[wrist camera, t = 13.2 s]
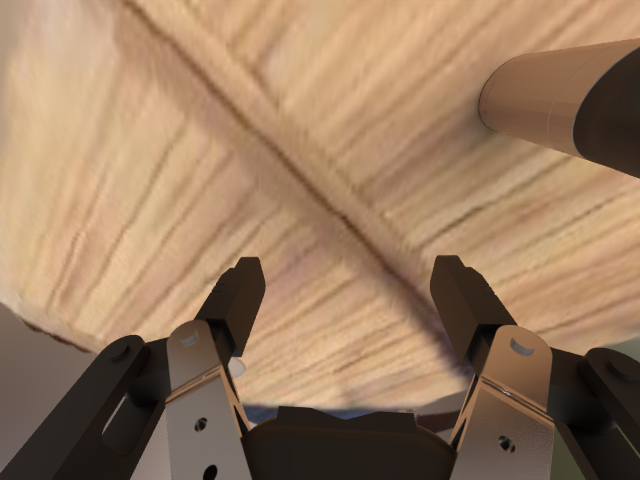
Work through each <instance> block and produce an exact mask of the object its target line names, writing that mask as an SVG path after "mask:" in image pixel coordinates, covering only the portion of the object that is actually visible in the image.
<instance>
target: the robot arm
mask: <svg viewBox="0 0 640 480" xmlns="http://www.w3.org/2000/svg"><path fill="white" fill-rule="evenodd" d="M479 113H480V116H481V119H482V121H483V122H484V124H485V125H486V126H488V127H489V128H491V129H493V130H495V131H499V132H502V133H505V134H507V135H510V136H513V137H517V138H520V139H523V140H526V141H529V142H532V143H535V144H538V145H541V146H545V147H548V148H551V149H554V150H557V151H560V152H563V153H567V154H570V155H573V156H576V157H579V158H582V159H586V160H589V161H591V162H595V163H598V164H601V165H604V166H607V167H610V168H613V169H615V170H618V171H620V172H623V173H626V174H628V175H631V176H634V177H637V178H640V38H636V39H629V40H622V41H615V42H608V43H602V44H595V45H588V46H581V47H574V48H567V49H561V50H554V51H546V52H539V53H532V54H526V55H522V56H518V57H515V58H514V59H512V60H510V61H508V62H506V63H505V64H504V65H502V66H501V67H500V68H499V69H498V70H497V71H496V72H495V73H494V74H493V75H492V76H491V78H490V79H489V80H488V82H487V83H486V85H485V87H484V89H483V91H482V94H481V97H480V102H479ZM430 292H431V296H432V298H433V301H434V303H435V306H436V308H437V310H438V313H439V315H440V318H441V320H442V323H443V325H444V327H445V330H446V332H447V335H448V337H449V339H450V342H451V344H452V347H453V349H454V351H455V354H456V356H457V359H458V361H459V364H460V365H461V366H472V367H473V369H474V371H475V375H474V377H473V379H472V382H471V385H470V388H469V391H468V393H467V396H466V399H465V402H464V405H463V407H462V410H461V413H460V415H459V418H458V421H457V423H456V426H455V428H454V430H453V433H452V435H451V437H450V440H449V442H448V443H447V442H445V441H444V440H443V439H442V438H440V437H439V436H438V435H436V434H434V433H433V432H431V431H430V430H428V429H426V428H424V427H422V426H419V425H416V422H415V418H414V413H398V412H380V411H379V412H375V413H371V414H367V415H363V416H359V417H355V418H351V419H346V420H344V419H340V418H337V417H334V416H332V415H329V414H326V413H324V412H321V411H318V410H315V409H313V408H306V407H288V406H279V409H278V414H277V416H276V417H273V418H270V419H268V420H265V421H263V422H262V423H260V424H258V425H257V426H255V427H254V428H253V429H251V427H250V425H249V422H248V420H247V417H246V415H245V413H244V410H243V407H242V404H241V401H240V398H239V395H238V392H237V389H236V386H235V383H234V380H233V377H232V374H231V371H230V368H229V366H228V364H229V362H230V359H231V357H242V354H243V351H244V348H245V346H246V343H247V340H248V338H249V335H250V332H251V329H252V327H253V324H254V321H255V318H256V316H257V313H258V310H259V308H260V305H261V302H262V299H263V297H264V294H265V279H264V275H263V271H262V268H261V264H260V260H259V258H258V257H241V258H240V259H239V261H238V263H237V264H236V266H235V268H229V269H228V270H227V271H226V272H225V273H223V274H222V275H221V277H220V278H219V280H218V281H217V283H216V286H214V288H213V289H212V293H210V294H209V296H208V297H207V299H206V301H205V302H204V304H203V305H202V307H201V309H200V310H199V312H198V314H197V315H196V317H195V318H194V320H191V321H188V322H186V323H184V324H182V325H180V326H179V327H177V328H176V329H175V330H174V331H173V332H172V333H171V335H170V336H169V337H167V338H163V339H159V340H155V341H151V342H148V343H145V342H144V340H143V339H142V338H141V337H140V336H138V335H128V336H125V337H122V338H120V339H118V340H116V341H114V342H112V343H111V344H110V345H108V346H107V347H106V348H105V349H104V350H103V351H102V352H101V353H100V354H99V355H98V356H97V358H96V359H95V360H94V361H93V362H92V364H91V365H90V366H89V367H88V368H87V370H86V371H85V372H84V373H83V374H82V376H81V377H80V378H79V379H78V380H77V382H76V383H75V384H74V385H73V386H72V388H71V389H70V390H69V391H68V392H67V394H66V395H65V396H64V397H63V398H62V400H61V401H60V402H59V403H58V405H57V406H56V407H55V408H54V409H53V411H52V412H51V413H50V414H49V415H48V417H47V418H46V419H45V420H44V421H43V423H42V424H41V425H40V426H39V427H38V429H37V430H36V431H35V432H34V433H33V435H32V436H31V437H30V438H29V439H28V441H27V442H26V443H25V444H24V445H23V447H22V448H21V449H20V450H19V451H18V453H17V454H16V455H15V456H14V458H13V459H12V460H11V461H10V462H9V463H8V465H7V466H6V467H5V468H4V470H3V471H2V472H1V473H0V480H130V478H131V476H132V474H133V472H134V470H135V468H136V466H137V464H138V462H139V460H140V458H141V456H142V454H143V452H144V450H145V448H146V446H147V444H148V442H149V439H150V438H151V436H152V433H153V431H154V429H155V427H156V425H157V423H158V421H159V419H160V417H161V415H162V413H163V411H164V409H165V407H166V419H167V430H168V442H169V454H170V467H171V478H172V480H550V470H551V459H552V447H553V436H554V424H555V426H556V427H557V429H558V431H559V433H560V434H561V436H562V438H563V439H564V442H565V443H566V445H567V447H568V449H569V451H570V452H571V454H572V456H573V458H574V459H575V461H576V463H577V465H578V466H579V468H580V470H581V472H582V474H583V475H584V477H585V479H586V480H640V458H639V457H638V456H637V454H636V453H635V451H634V450H633V449H632V447H631V446H630V445H629V443H628V442H627V440H626V439H625V438H624V436H623V435H622V434H621V432H620V431H619V430H618V428H617V426H619V427H620V428H621V430H622V431H623V433H624V434H625V435H626V437H627V438H628V439H629V441H630V442H631V443H632V445H633V446H634V447H635V449H636V450H637V451H638V453H639V454H640V363H639V362H638V361H636V360H634V359H632V358H631V357H629V356H627V355H625V354H622V353H620V352H618V351H615V350H611V349H607V348H593V349H590V350H589V351H588V352H587V353H586V354H585V356H581V355H577V354H574V353H570V352H566V351H562V350H559V349H555V348H552V347H549V346H548V344H547V343H546V342H545V341H544V340H543V339H542V338H541V337H539V336H538V335H537V334H535V333H533V332H532V331H530V330H528V329H525V328H523V327H520V326H518V325H517V323H516V322H515V321H514V319H513V318H512V316H511V315H510V314H509V312H508V311H507V309H506V308H505V307H504V305H503V304H502V302H501V301H500V300H499V298H498V297H497V295H495V294H494V291H493V290H492V289H491V287H489V284H488V283H487V282H486V280H485V279H484V277H483V276H482V275H481V274H480V273H478V272H477V271H476V270H474V269H473V268H471V267H465V266H464V264H463V263H462V261H461V260H460V258H459V257H458V256H457V255H438V256H437V257H436V259H435V263H434V267H433V272H432V276H431V280H430ZM123 397H125V400H124V402H123V403H122V405H121V406H120V408H119V410H118V411H117V413H116V414H115V416H114V417H113V419H112V421H111V422H110V424H109V425H108V427H107V428H106V430H105V432H104V433H103V435H102V432H103V429H104V427H105V425H106V423H107V422H108V420H109V418H110V417H111V415H112V414H113V412H114V411H115V409H116V408H117V406H118V404H119V403H120V401H121V400H122V398H123Z"/></svg>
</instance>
